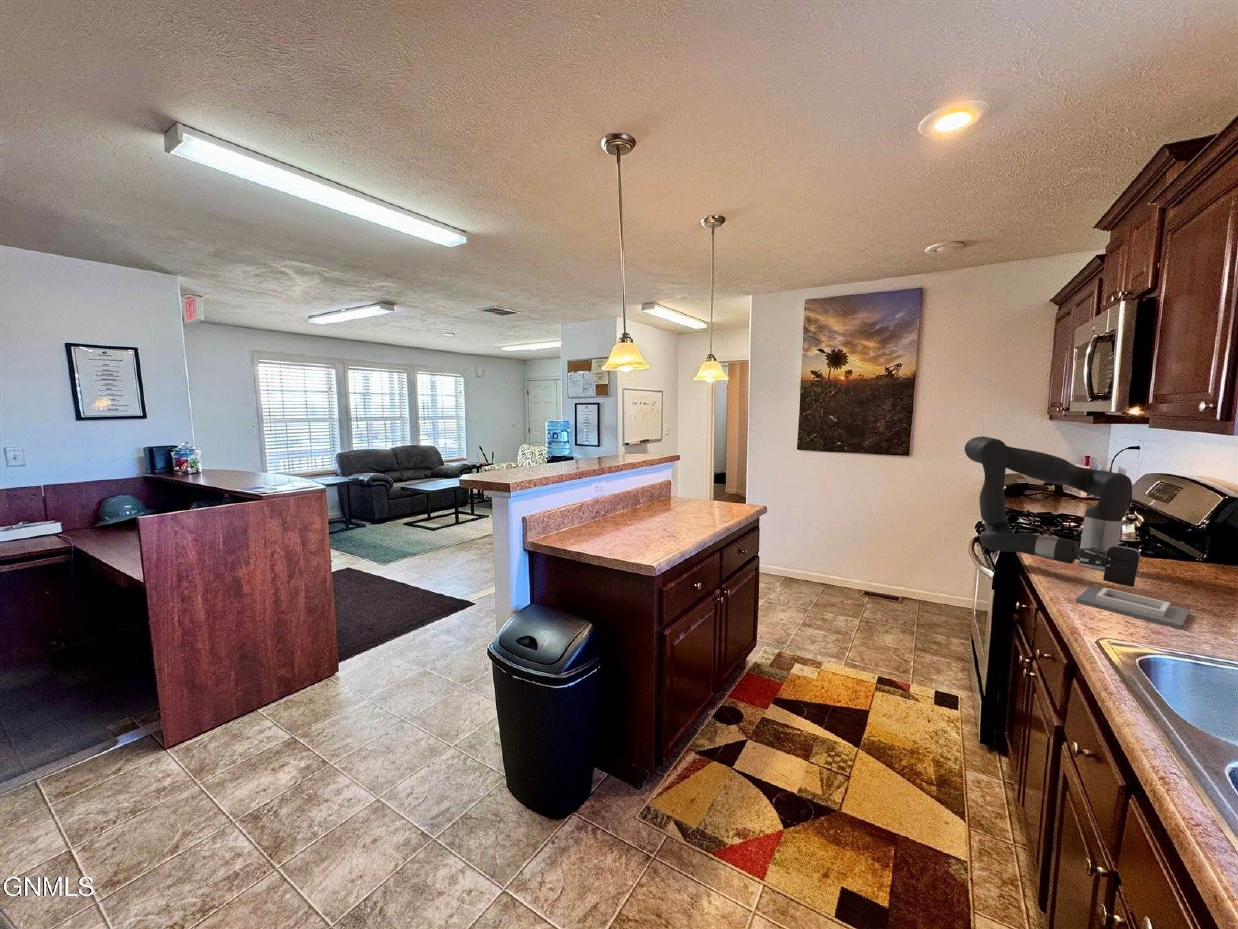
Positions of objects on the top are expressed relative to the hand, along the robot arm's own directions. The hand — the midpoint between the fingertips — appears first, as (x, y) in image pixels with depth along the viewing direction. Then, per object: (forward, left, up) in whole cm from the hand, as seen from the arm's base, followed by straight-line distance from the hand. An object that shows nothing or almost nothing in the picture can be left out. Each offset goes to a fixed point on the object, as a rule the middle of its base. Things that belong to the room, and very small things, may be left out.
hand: (1130, 564), depth 146 cm
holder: (+14, +3, -9) cm, 17 cm away
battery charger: (0, -2, -7) cm, 7 cm away
